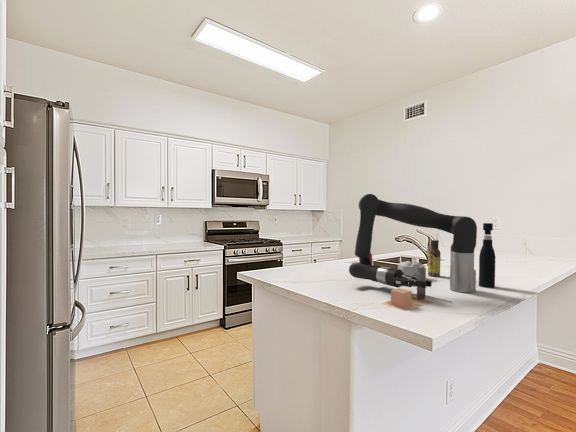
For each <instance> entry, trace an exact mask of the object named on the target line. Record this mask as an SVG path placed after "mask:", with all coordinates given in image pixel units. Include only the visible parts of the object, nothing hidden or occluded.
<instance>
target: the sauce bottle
mask: <svg viewBox="0 0 576 432" xmlns="http://www.w3.org/2000/svg"><path fill="white" fill-rule="evenodd" d="M439 243H440V240H438V239H430V249H428V253H427V275H428V276H430V277H433V278H434V277H435V278H437V277H439V278H440V275H441V261H442V260H441V251H440V249H439Z"/></svg>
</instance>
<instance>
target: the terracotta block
mask: <svg viewBox="0 0 576 432" xmlns="http://www.w3.org/2000/svg"><path fill="white" fill-rule="evenodd" d="M412 292H413V291H412V290H408V289H404V288H401V287H398V288H395V289H391V290H390V301H391V304H393V305H396V306H400V307H407V306H410V305H411V298H412V295H413V294H412Z"/></svg>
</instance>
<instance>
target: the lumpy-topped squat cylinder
mask: <svg viewBox="0 0 576 432" xmlns="http://www.w3.org/2000/svg"><path fill="white" fill-rule="evenodd" d="M417 267H424V268H426V266H425V264H423V263H421V262H419V261H413V262H412V261H410V260H406V261H401V262H398V263H397V269H400V270H402V271H403V273H404V275H405V274H408V275H411V276H413V275H417Z"/></svg>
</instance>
